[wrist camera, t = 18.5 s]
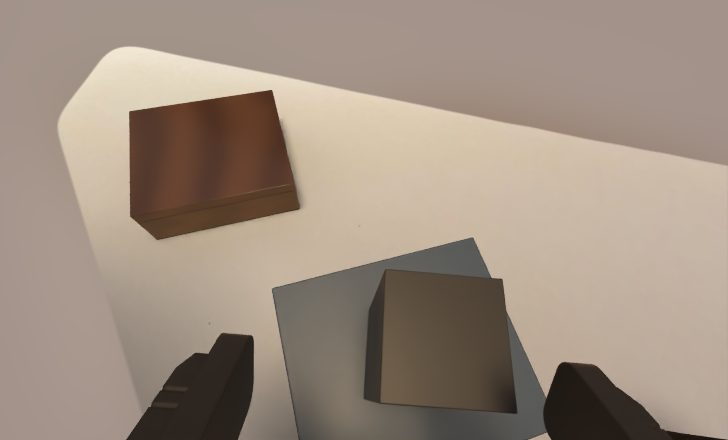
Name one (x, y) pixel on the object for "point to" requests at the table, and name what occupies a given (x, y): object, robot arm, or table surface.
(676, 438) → the portable radio
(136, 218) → the brown wooden box
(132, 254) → the table surface
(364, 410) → the grey step stool
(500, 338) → the black block
